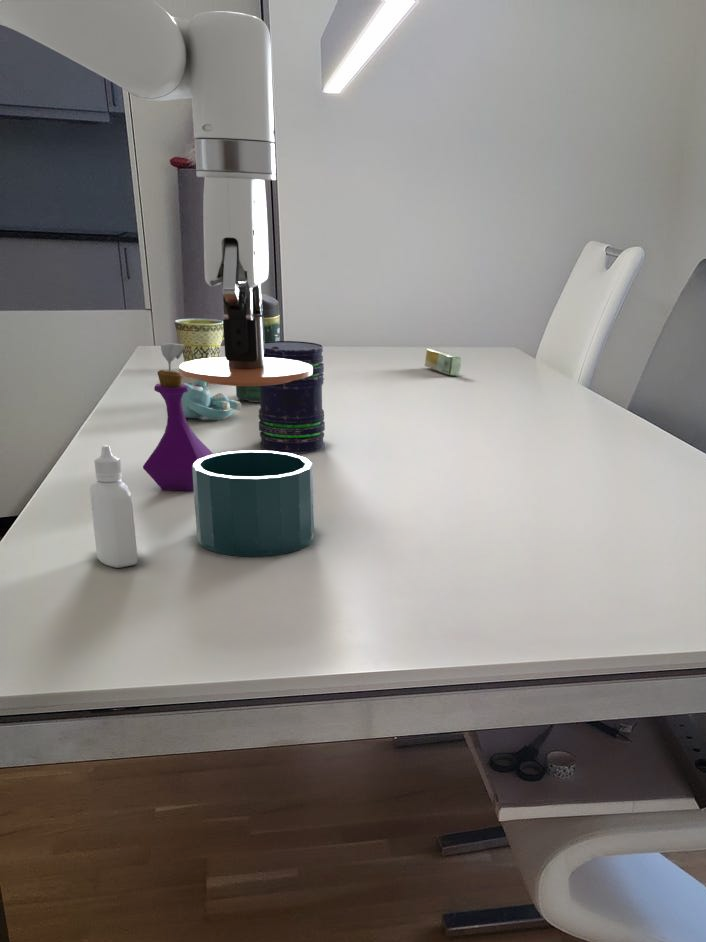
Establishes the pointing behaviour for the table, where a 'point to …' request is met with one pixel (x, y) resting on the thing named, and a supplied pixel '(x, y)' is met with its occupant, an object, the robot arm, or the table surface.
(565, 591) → the table surface
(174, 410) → the perfume bottle
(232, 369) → the tin lid
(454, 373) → the medication box
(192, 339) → the ceramic cup
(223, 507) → the tin
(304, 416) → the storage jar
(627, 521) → the table surface
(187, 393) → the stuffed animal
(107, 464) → the eye dropper bottle
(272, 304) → the coffee jar
